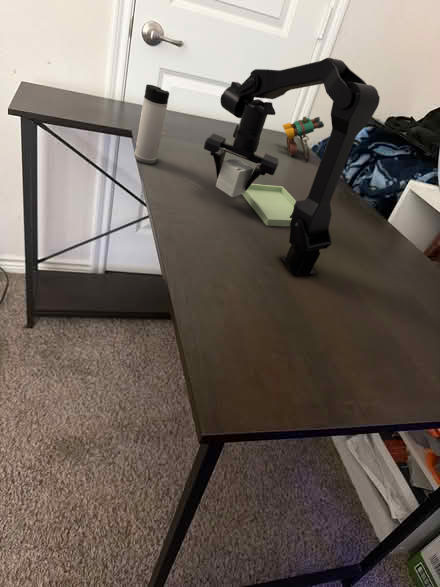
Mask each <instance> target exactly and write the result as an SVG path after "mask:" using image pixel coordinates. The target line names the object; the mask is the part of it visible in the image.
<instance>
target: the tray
mask: <svg viewBox="0 0 440 587" xmlns="http://www.w3.org/2000/svg"><path fill="white" fill-rule="evenodd" d="M241 195H242V197H243V198H244V199H245V201H246V202H247V203H248V204H249V205H250V207H251V208H252V210H254V212H255V214H257V216H258V218H260V220H261V221H262V222H263V223H264V225H265V226H267V227H290V222H291V219H292V218H290V216H291V215H292V212H293V209H294V205H295V203H296V201H297V200H296V199H295V198H294V197H293V196H292V195H291V194H290V192H288V191H287V190H286V188H285V187H284V186H282V185H281V186H280V185H272V184H271V185H270V184H257V183H252V184H251V185H250V187H249V188H248V189H247V190H246V193H244V194H241Z"/></svg>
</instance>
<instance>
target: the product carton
mask: <svg viewBox="0 0 440 587" xmlns="http://www.w3.org/2000/svg"><path fill="white" fill-rule="evenodd" d="M253 171H254V167H252V166H250V165H249V164H247V163H245V161H244V162H243V161H242V160H241V159H240V158H231V159H226V160H224V161H223V163H222V167H221V170H220V173H219V177H218V180H217V179H216V183H215V187H216V188H217V189H218V190H220V191H222V192H223V193H225V194H226V195H228V196H229V197H230V198H234V197H237V196H240V195H242V194H244V193H246V191H245V188H246V185H247V183H248V181H249V179H250V177H251V175H252V173H253Z"/></svg>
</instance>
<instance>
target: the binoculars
mask: <svg viewBox="0 0 440 587" xmlns="http://www.w3.org/2000/svg"><path fill="white" fill-rule="evenodd" d="M324 126H325V124H324V122H323V121H322V120H321V117H320V116H317V117H314V118H310V117H307V116H303V117H302V119H298V120H295V121H293V123H291V122H287V123H285V124H284V123H283V124H282V128H283V130H284V132H285V134H286V135H285V137H286V145H287V146H286V147H287V150H288V152H289V156H294V155H297V154H298V144H297V142H296V141H295V137H298V138H299V140H300V145H301V148H302V152H303V154H304V155H303V156H304V157H305V159H306V160H309V159H310V149H309V144H308V141H309V139H310V138H309V136H308V134H311V133H313V132H314V131H315V130H317V129H322V128H325V127H324Z"/></svg>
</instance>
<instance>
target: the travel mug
mask: <svg viewBox="0 0 440 587" xmlns="http://www.w3.org/2000/svg"><path fill="white" fill-rule="evenodd" d="M169 97H170V92H169V91H168V90H165V89H162V87H159V86H157V85H154V84H148V83H147V84H146V85H145V90H144V96H143V100H142V101H143V102H142V106H141V114H140V118H139V125H138V131H137V138H136V144H135V151H134V155H133V156H134V159H135V160H137V161H138V162H140V163H142V164H146V165H152V164H155V163H157V159H158V154H159V149H160V144H161V139H162V134H163V129H164V125H165V124H164V123H165V118H166V114H167V109H168V104H169Z"/></svg>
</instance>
